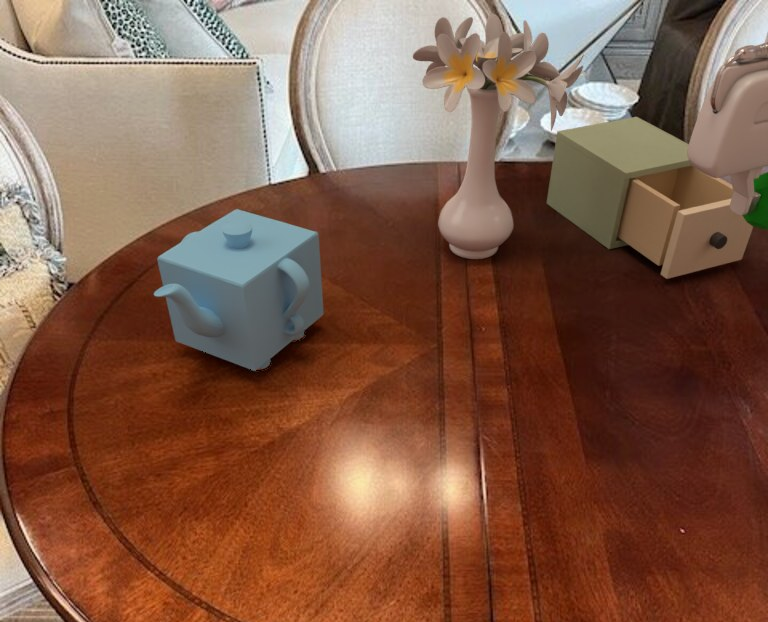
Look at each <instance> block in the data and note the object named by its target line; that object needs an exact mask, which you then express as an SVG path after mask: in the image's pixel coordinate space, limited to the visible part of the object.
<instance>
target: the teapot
mask: <svg viewBox="0 0 768 622" xmlns="http://www.w3.org/2000/svg"><path fill="white" fill-rule="evenodd" d="M319 235H320V234H319V232H318V231H315V230H311V229H307V228H305V227H301V226H297V225H294V224H290V223H288V222H285V221H280V220H277V219H273V218H269V217H266V216H263V215H259V214H256V213H251V212H248V211H246V210H245V211H244V210H242V209H238V208H236V209H234V210H233V211H230V212H229V213H227V214H225V215H224V216H222V217H221V218H219V219H217V220H216V221H214V222H212V223H210V224H209V225H207V226H206V227H204V228H202V229H201V230H199V231H193V232H189V233H188V234H186V235H185V236H184V237H183V239H182V240H181V242H179V243H178V244H176V245H175V246H173V247H171V248H170V249H168V250H166V251H165V252H163V253H162V254H160V255H158V257H157V258H156V260H157V264H158V270H159V275H160V278H161V282H162V286H160V287H159V288H158V289H156V290H155V291H154V292H153V296H154V297H156V298H157V297H158V298H165V301H166V304H167V310H168V314H169V319H170V323H171V328H172V332H173V336H174V340H175V342H176V343H179V344H182V345H185V346H187V347H190V348H193V349H194V350H198V351H201V352H202V351H203V352H202V353H205V352H206V353H205V354H209V355H211V356H214V357H216V358H218V359H221V360H224V361H226V362H230V363H233V364H234V365H237V366H239V367H243V368H246V369H248V370H250V369H251V370H250V371H253V372H257V371H256V370H257V369H260V368H261V369H263V368H265V367H267V366H268V365H269V364H270V362H271V363H272V361H271V359H272V358H273V357H275V355H277V354H278V353H279V352H280V351H282V350H283V349H285V347H287V346H288V345H289V344H290V343H291V342H293V341H292V340H294V339H300V338H301V337H303V335H304V332H305V331H306V330H307V329H308V328H310V326H312V325H313V324H314V323H315V322H317V321H318V320H319V319H321V317H322V316H324V314H325V312H324V298H323V283H322V282H323V280H322V265H321V251H320V250H321V249H320V236H319Z"/></svg>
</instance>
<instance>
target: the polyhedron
mask: <svg viewBox="0 0 768 622" xmlns="http://www.w3.org/2000/svg"><path fill="white" fill-rule="evenodd" d="M754 191H755V192H757V193H759V194H761V197H760V200H759V202H758V204H757V209H756V211H755V212H753V213H749V214H746V215H742V216H743V217H744V219H745V220H746V222H747V223H749V224H750V225H752V226H753V228H757V229H761V230H764V231H765V230H768V171H767V172H764V173H762V174H760V177H759V178H756V179H754Z"/></svg>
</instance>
